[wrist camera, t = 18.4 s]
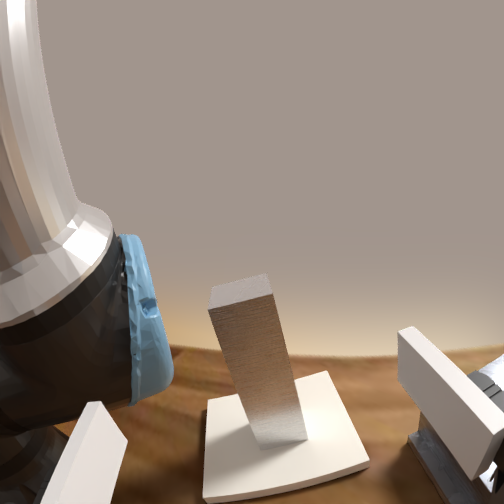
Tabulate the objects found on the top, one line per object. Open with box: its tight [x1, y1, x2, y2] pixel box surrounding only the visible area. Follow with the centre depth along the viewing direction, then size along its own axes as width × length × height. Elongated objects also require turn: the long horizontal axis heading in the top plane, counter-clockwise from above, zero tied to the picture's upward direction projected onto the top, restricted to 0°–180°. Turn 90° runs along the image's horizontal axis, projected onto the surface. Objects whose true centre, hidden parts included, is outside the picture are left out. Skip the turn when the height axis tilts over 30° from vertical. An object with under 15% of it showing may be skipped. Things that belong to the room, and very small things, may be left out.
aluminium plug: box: [208, 273, 309, 451], centre depth 24 cm, size 4×4×15 cm
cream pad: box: [203, 370, 370, 504], centre depth 27 cm, size 14×14×1 cm
